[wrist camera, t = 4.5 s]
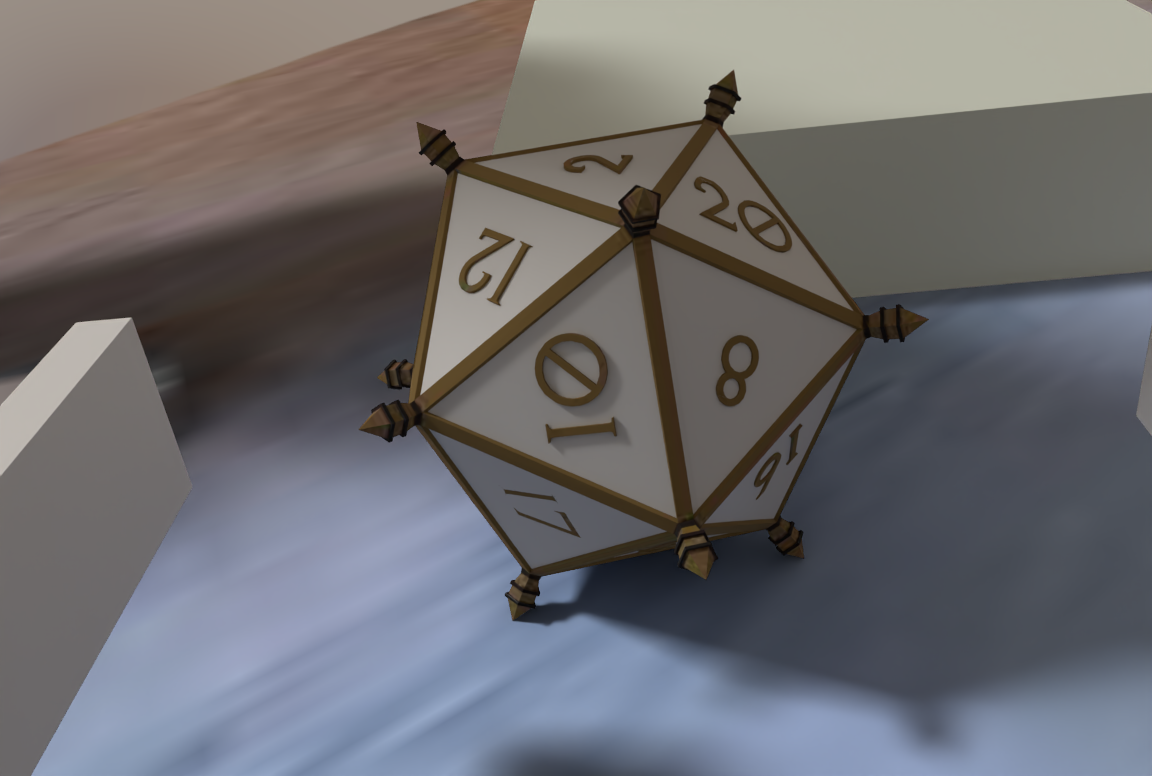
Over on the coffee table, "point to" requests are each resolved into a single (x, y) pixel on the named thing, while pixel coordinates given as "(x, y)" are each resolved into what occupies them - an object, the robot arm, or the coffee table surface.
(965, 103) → the base block
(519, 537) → the game die
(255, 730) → the coffee table surface
